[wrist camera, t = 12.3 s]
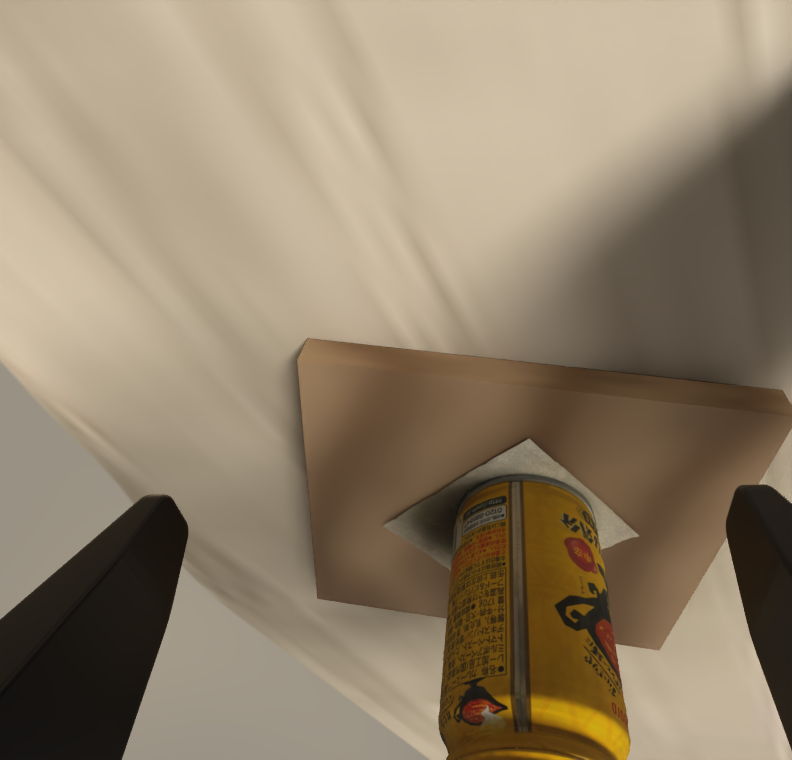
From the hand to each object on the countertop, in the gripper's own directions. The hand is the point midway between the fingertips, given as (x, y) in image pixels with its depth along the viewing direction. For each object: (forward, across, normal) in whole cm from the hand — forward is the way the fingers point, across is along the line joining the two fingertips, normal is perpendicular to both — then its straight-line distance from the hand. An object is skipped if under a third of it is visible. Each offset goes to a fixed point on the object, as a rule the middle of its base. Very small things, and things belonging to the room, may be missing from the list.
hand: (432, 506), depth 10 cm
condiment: (+11, -1, +15) cm, 18 cm away
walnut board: (+12, -1, +15) cm, 19 cm away
